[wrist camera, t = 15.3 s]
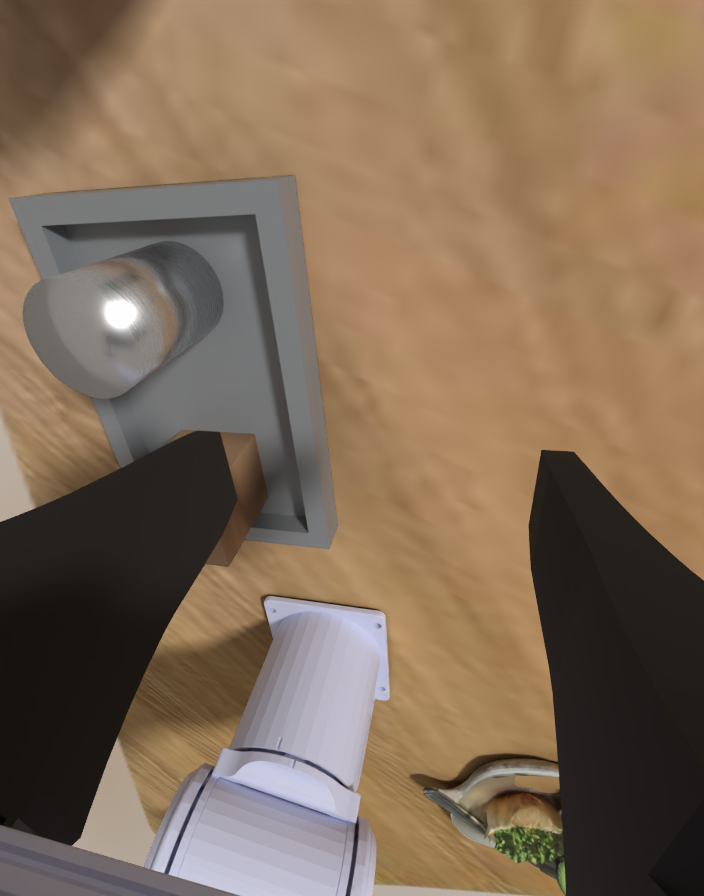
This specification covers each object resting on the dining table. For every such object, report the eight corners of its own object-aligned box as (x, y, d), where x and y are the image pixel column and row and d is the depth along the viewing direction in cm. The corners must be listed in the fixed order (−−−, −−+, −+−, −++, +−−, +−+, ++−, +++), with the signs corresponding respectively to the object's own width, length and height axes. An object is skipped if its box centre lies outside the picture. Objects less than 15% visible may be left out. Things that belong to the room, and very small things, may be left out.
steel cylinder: (233, 337, 21) (154, 400, 16) (152, 337, 22) (55, 397, 17) (210, 237, 19) (111, 275, 14) (122, 243, 20) (0, 280, 15)
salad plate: (399, 800, 45) (392, 861, 41) (466, 715, 35) (464, 786, 31) (600, 872, 44) (611, 941, 40) (731, 806, 34) (762, 891, 30)
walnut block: (268, 497, 26) (228, 566, 22) (201, 491, 26) (151, 557, 22) (254, 433, 23) (207, 497, 19) (182, 429, 24) (122, 490, 20)
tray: (337, 526, 26) (329, 549, 25) (162, 508, 29) (145, 528, 27) (295, 174, 17) (277, 179, 16) (43, 193, 20) (8, 198, 18)
